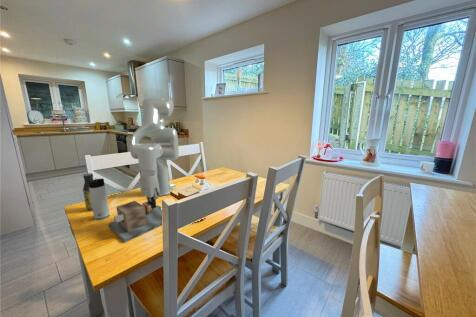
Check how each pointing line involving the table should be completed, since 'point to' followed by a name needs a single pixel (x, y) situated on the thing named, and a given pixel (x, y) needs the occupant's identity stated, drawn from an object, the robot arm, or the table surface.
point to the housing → (136, 220)
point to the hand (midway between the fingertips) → (152, 208)
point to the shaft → (147, 205)
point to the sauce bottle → (87, 191)
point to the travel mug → (98, 199)
